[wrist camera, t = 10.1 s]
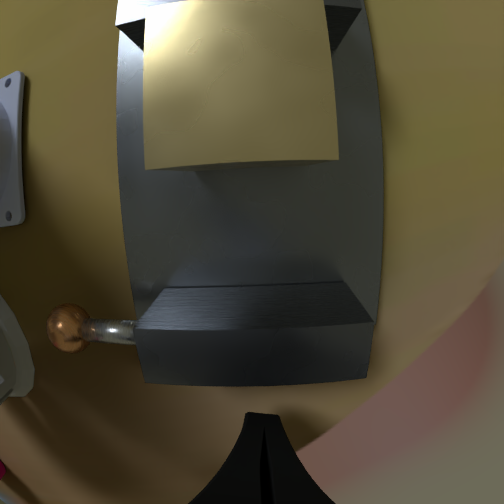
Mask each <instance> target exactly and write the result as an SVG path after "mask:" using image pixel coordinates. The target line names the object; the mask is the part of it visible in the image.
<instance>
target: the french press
mask: <svg viewBox="0 0 504 504" xmlns="http://www.w3.org/2000/svg"><path fill="white" fill-rule="evenodd" d="M34 372H35V368H34V364H33V361H32V357H31V353H30V349H29V345H28V342H27V340H26V338H25V336H24V334H23V332H22V330H21V328H20V325H19V323H18V321H17V319H16V317H15V315H14V313H13V312H12V310H11V309H10V307H9V306H8V305H7V303H6V302H5V300H4V299H3V297H2V296H1V294H0V405H1V404H2V403H3V402H4V401H5V400H6V398H7V397H8V396H10V397H25V396H26V395H27V394H28V393H29V392H30V390H31V389H32V388H33V384H34Z"/></svg>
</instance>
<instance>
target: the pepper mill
mask: <svg viewBox="0 0 504 504" xmlns="http://www.w3.org/2000/svg"><path fill="white" fill-rule="evenodd" d="M5 473H6V469H5V467H4V465H3V463H2V462H1V461H0V480H1V478H2V477H3V476H4V474H5Z"/></svg>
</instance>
